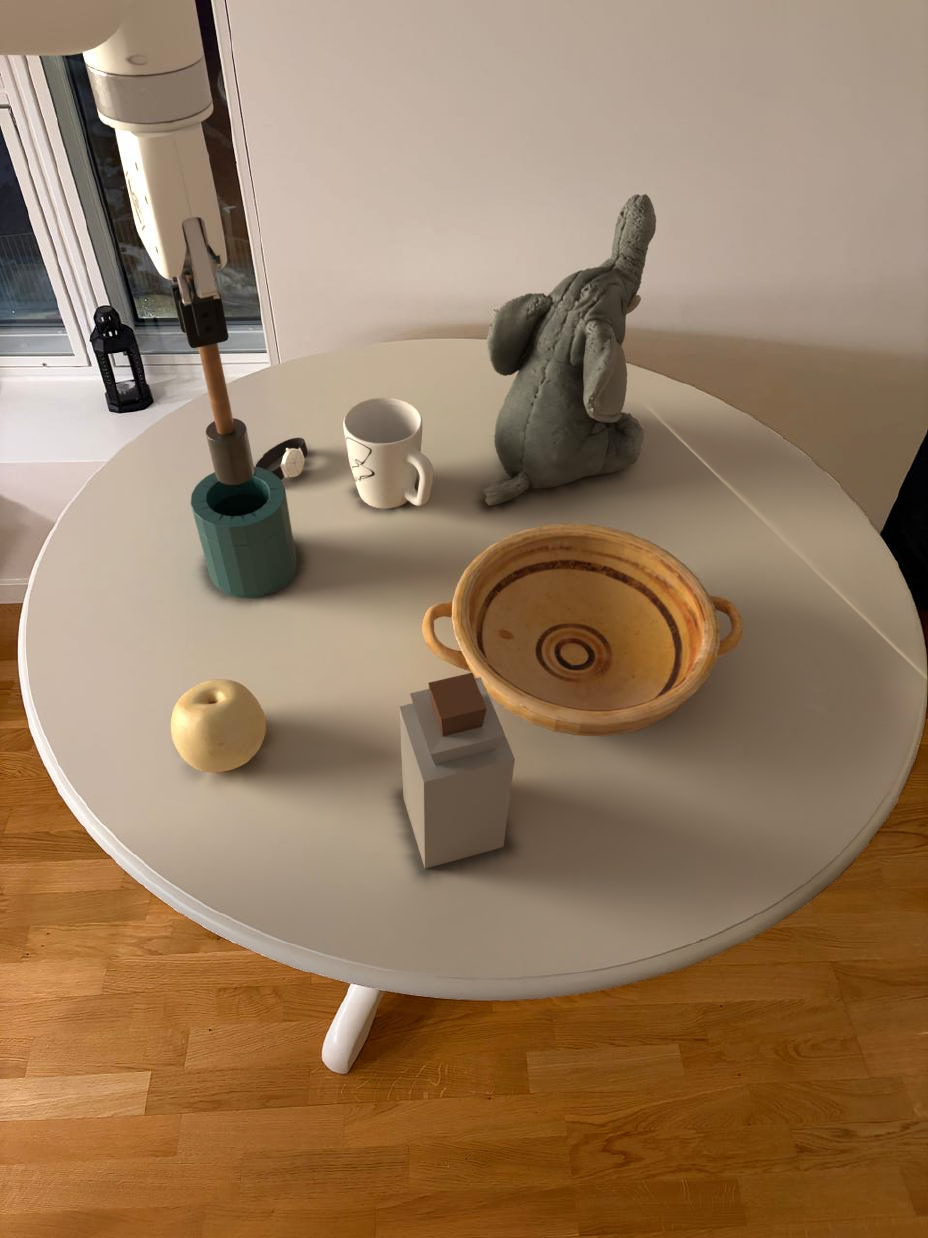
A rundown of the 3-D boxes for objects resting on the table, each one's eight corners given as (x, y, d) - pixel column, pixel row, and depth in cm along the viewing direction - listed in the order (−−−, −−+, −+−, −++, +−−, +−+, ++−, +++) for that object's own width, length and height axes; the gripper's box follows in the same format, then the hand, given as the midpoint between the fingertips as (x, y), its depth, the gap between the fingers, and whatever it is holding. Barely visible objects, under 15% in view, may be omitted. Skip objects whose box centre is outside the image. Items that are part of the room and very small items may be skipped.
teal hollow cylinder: (223, 609, 91) (205, 537, 83) (199, 552, 96) (180, 480, 89) (308, 582, 94) (297, 510, 86) (280, 528, 99) (268, 456, 92)
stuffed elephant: (617, 399, 117) (655, 186, 97) (650, 506, 103) (704, 285, 83) (470, 402, 116) (478, 187, 95) (484, 511, 102) (497, 287, 81)
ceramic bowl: (696, 574, 96) (713, 518, 90) (758, 769, 80) (785, 717, 74) (419, 580, 94) (418, 524, 88) (426, 781, 78) (426, 729, 72)
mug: (456, 504, 102) (458, 432, 95) (403, 540, 98) (401, 468, 91) (387, 458, 108) (384, 387, 100) (334, 491, 103) (326, 419, 96)
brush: (221, 489, 83) (174, 286, 68) (211, 466, 85) (162, 264, 70) (259, 479, 84) (221, 276, 69) (248, 456, 86) (208, 255, 71)
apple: (204, 805, 76) (150, 739, 72) (202, 755, 83) (154, 693, 79) (285, 758, 76) (236, 691, 73) (277, 713, 83) (232, 649, 80)
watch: (279, 495, 103) (275, 470, 100) (246, 481, 104) (241, 456, 101) (318, 458, 107) (315, 433, 104) (286, 445, 109) (283, 421, 106)
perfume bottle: (403, 799, 77) (397, 669, 64) (478, 779, 79) (488, 648, 65) (424, 869, 73) (423, 746, 59) (503, 847, 74) (519, 722, 61)
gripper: (71, 56, 63) (137, 299, 77) (119, 140, 54) (184, 398, 68) (178, 43, 65) (222, 281, 79) (241, 121, 56) (279, 375, 70)
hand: (204, 334), depth 73 cm, fingers closed on brush
